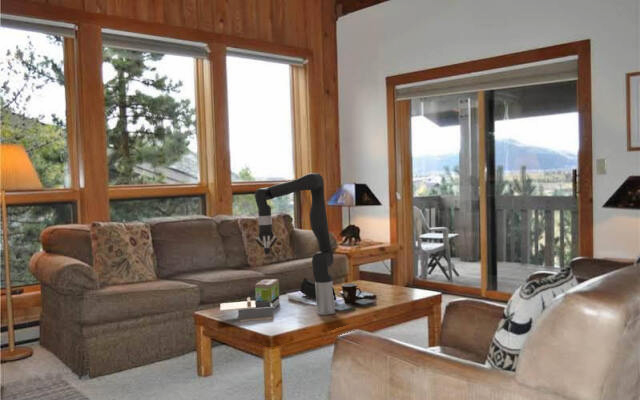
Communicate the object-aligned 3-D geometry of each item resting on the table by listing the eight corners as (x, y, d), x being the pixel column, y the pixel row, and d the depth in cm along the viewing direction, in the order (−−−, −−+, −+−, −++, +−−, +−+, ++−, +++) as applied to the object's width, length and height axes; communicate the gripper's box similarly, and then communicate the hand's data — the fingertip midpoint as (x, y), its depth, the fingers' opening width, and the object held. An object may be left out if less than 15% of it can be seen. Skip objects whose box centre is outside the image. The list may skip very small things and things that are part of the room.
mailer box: (271, 311, 308) (270, 301, 307) (273, 318, 294) (272, 307, 294) (238, 314, 305) (237, 304, 305) (239, 321, 291) (238, 310, 291)
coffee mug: (340, 301, 323) (339, 284, 322) (353, 299, 326) (352, 282, 326) (349, 305, 312) (348, 288, 311) (362, 303, 315) (361, 286, 315)
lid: (254, 302, 306) (254, 296, 306) (255, 308, 292) (255, 302, 292) (220, 305, 303) (220, 299, 303) (220, 311, 289) (219, 305, 289)
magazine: (338, 287, 319) (307, 267, 341) (334, 288, 317) (302, 268, 339) (334, 314, 324) (303, 292, 346) (330, 315, 322) (299, 293, 344)
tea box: (272, 310, 311) (271, 284, 310) (255, 310, 313) (254, 284, 312) (280, 303, 326) (278, 278, 325) (263, 303, 328) (262, 278, 327)
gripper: (253, 225, 307) (255, 256, 308) (277, 223, 309) (279, 254, 310) (253, 223, 315) (255, 254, 316) (276, 222, 317) (278, 252, 318)
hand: (267, 254), depth 313 cm, fingers closed
